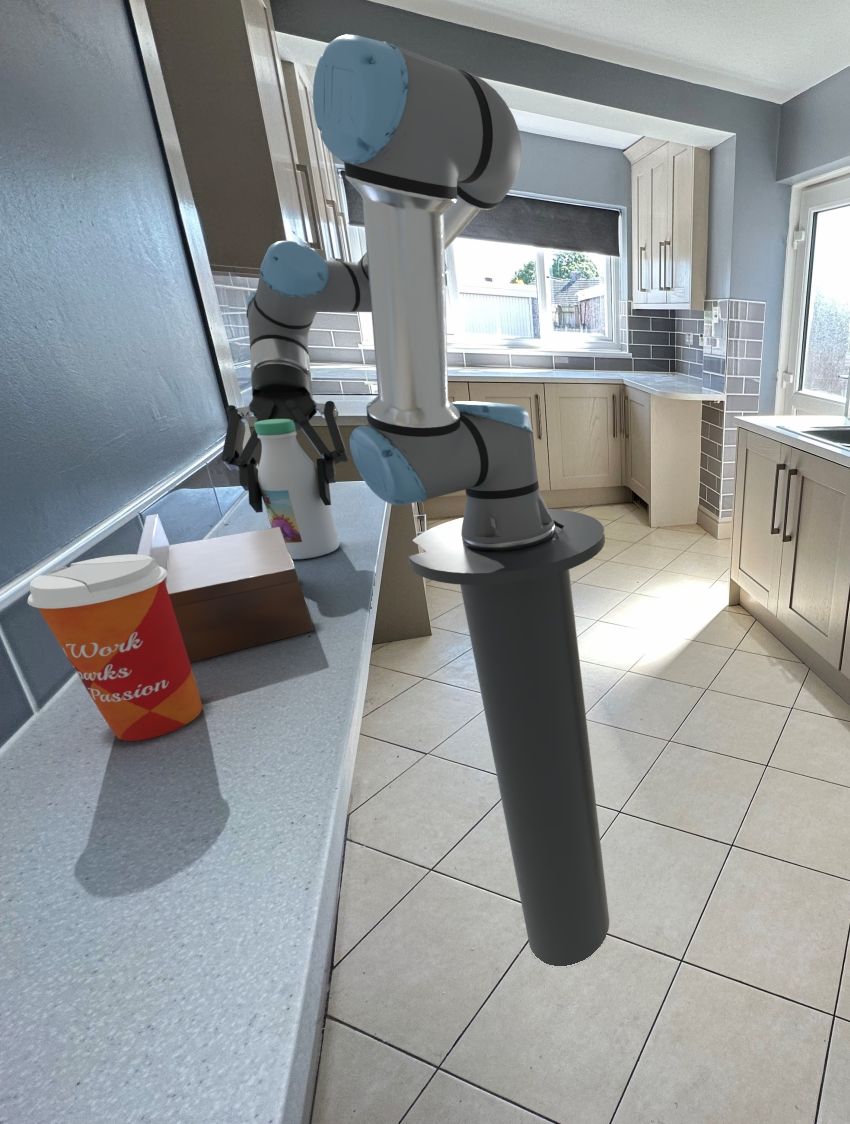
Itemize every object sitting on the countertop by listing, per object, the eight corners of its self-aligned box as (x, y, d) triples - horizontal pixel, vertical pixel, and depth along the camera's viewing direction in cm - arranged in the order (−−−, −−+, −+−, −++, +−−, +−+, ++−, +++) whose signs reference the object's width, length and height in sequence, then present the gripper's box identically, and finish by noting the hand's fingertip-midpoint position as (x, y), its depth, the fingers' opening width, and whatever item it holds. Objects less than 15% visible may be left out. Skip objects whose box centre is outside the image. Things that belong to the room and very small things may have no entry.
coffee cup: (69, 747, 52) (-14, 589, 46) (159, 692, 60) (98, 550, 54) (162, 752, 52) (91, 593, 46) (241, 695, 59) (189, 553, 54)
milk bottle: (333, 538, 99) (299, 414, 92) (346, 551, 94) (311, 421, 87) (276, 550, 94) (235, 420, 87) (286, 564, 89) (243, 427, 82)
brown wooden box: (296, 581, 84) (271, 497, 79) (314, 631, 71) (284, 534, 67) (181, 605, 77) (146, 515, 72) (178, 665, 64) (135, 560, 60)
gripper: (363, 390, 103) (378, 507, 96) (210, 396, 94) (213, 525, 87) (352, 359, 96) (367, 483, 89) (186, 362, 88) (188, 499, 81)
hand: (291, 504), depth 88 cm, fingers closed on milk bottle, 8 cm apart
